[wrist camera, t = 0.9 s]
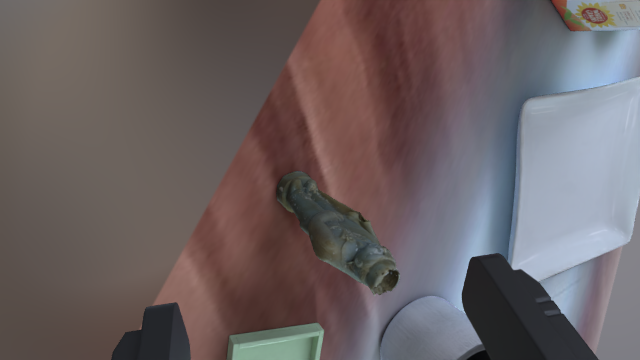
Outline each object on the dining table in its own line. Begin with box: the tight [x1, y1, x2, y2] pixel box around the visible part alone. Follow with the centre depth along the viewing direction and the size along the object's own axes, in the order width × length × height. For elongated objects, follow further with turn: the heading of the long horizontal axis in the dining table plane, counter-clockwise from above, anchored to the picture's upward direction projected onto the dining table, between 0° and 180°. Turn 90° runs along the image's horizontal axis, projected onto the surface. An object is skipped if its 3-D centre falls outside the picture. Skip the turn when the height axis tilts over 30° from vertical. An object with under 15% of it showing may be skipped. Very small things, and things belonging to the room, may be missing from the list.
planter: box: [380, 296, 491, 360], centre depth 57 cm, size 13×12×11 cm
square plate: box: [508, 76, 640, 282], centre depth 65 cm, size 27×27×4 cm
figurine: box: [276, 171, 400, 296], centre depth 39 cm, size 5×7×18 cm
